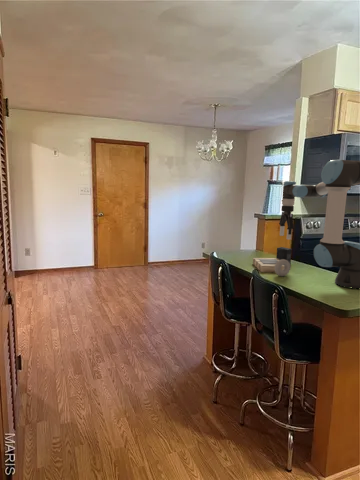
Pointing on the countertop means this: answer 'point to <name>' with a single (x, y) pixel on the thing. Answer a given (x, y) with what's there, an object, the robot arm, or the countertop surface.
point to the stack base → (266, 264)
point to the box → (284, 254)
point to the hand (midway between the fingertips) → (285, 237)
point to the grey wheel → (285, 270)
